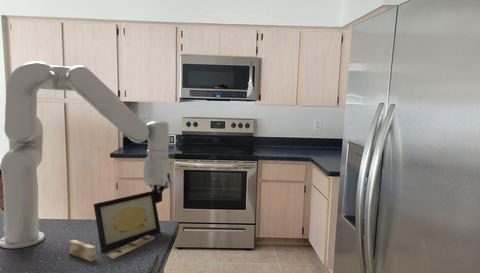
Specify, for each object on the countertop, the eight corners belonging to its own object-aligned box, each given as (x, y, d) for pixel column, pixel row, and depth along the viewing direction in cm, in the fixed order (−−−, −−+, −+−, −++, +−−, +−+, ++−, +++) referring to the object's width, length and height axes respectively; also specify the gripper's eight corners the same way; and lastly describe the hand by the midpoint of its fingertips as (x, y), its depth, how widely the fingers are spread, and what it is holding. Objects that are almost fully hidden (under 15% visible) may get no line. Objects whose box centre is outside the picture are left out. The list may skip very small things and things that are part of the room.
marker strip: (106, 256, 104) (106, 253, 104) (147, 237, 120) (147, 234, 120) (113, 258, 102) (113, 255, 102) (154, 239, 118) (154, 236, 118)
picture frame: (103, 251, 107) (100, 204, 106) (88, 246, 112) (85, 202, 112) (160, 231, 125) (158, 191, 125) (145, 228, 130) (143, 189, 130)
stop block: (69, 253, 105) (69, 241, 104) (74, 251, 106) (74, 239, 106) (91, 261, 100) (91, 248, 100) (95, 259, 102) (95, 246, 101)
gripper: (135, 153, 126) (135, 201, 128) (167, 157, 119) (166, 207, 121) (150, 151, 133) (149, 196, 135) (180, 154, 126) (179, 202, 128)
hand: (157, 201), depth 128 cm, fingers closed
